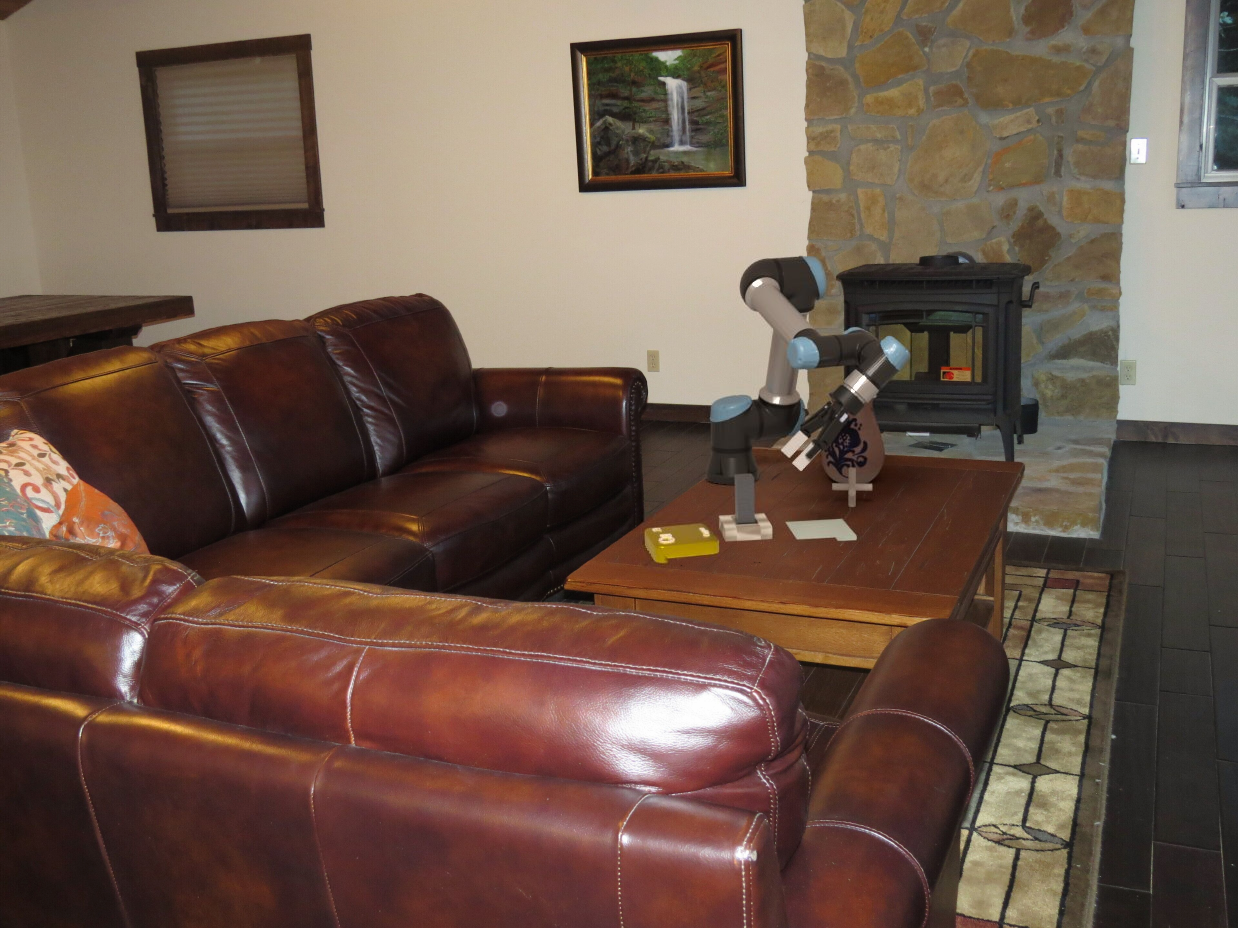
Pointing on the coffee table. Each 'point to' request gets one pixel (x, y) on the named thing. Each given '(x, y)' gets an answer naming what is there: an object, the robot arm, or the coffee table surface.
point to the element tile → (680, 541)
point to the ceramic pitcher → (856, 448)
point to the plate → (822, 529)
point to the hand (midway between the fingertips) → (790, 460)
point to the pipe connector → (852, 487)
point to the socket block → (745, 528)
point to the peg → (744, 499)
